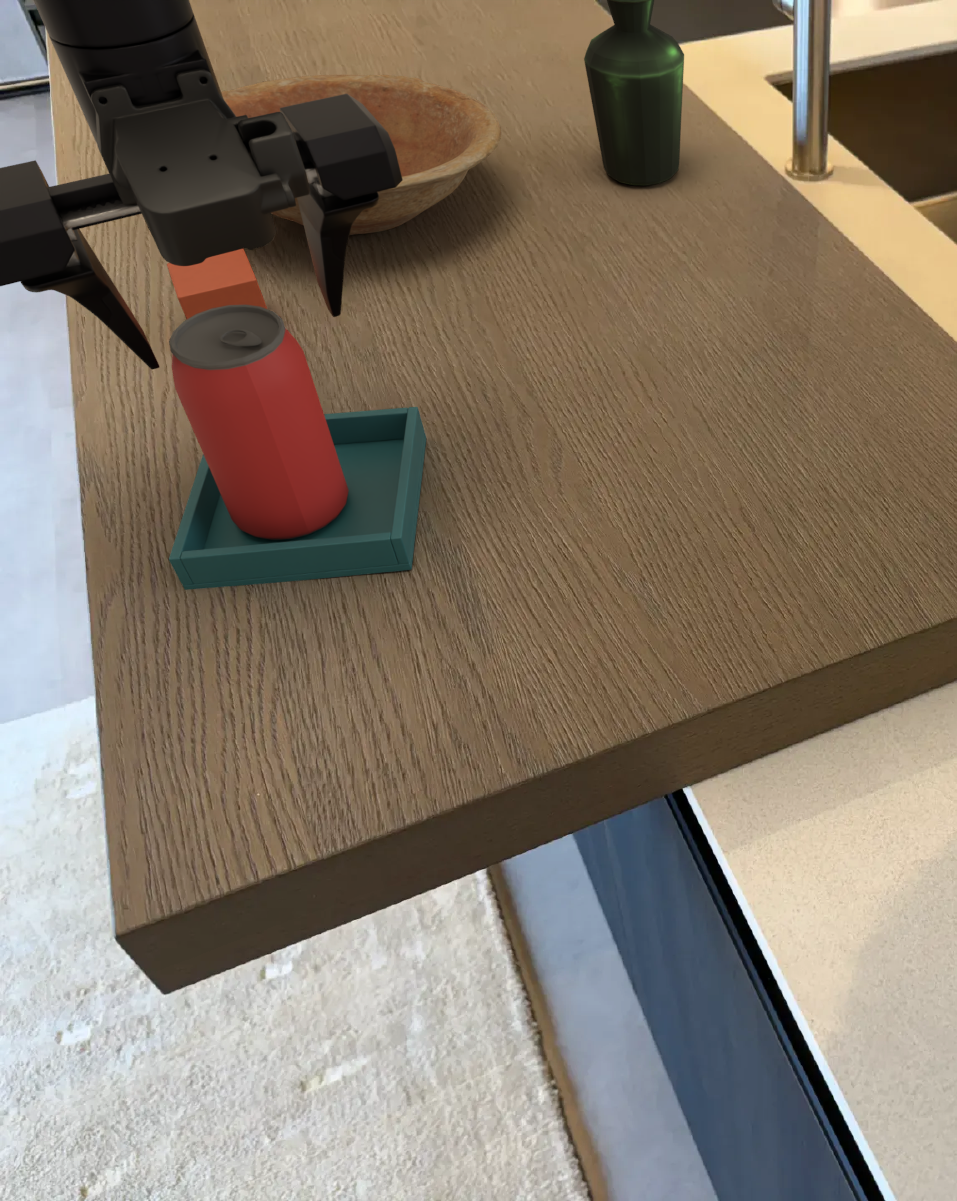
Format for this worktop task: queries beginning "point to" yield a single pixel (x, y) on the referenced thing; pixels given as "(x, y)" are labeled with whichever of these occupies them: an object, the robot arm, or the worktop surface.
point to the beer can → (258, 421)
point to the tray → (342, 548)
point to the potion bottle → (636, 95)
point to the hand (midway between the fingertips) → (247, 338)
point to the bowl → (393, 135)
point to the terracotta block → (216, 283)
